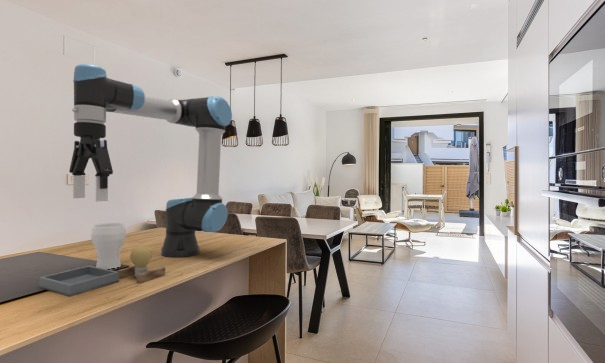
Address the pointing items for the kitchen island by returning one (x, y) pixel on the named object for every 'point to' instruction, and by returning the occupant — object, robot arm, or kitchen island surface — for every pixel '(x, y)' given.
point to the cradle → (142, 276)
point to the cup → (108, 244)
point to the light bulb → (141, 258)
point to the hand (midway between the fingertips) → (90, 199)
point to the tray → (78, 280)
